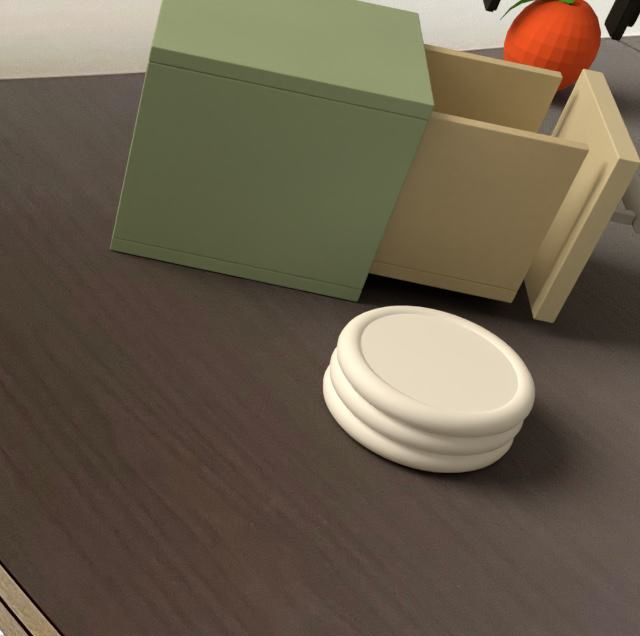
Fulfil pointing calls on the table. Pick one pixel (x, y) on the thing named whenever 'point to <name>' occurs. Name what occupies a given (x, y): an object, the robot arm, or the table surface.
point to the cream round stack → (427, 389)
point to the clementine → (554, 37)
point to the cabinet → (274, 139)
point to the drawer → (510, 183)
